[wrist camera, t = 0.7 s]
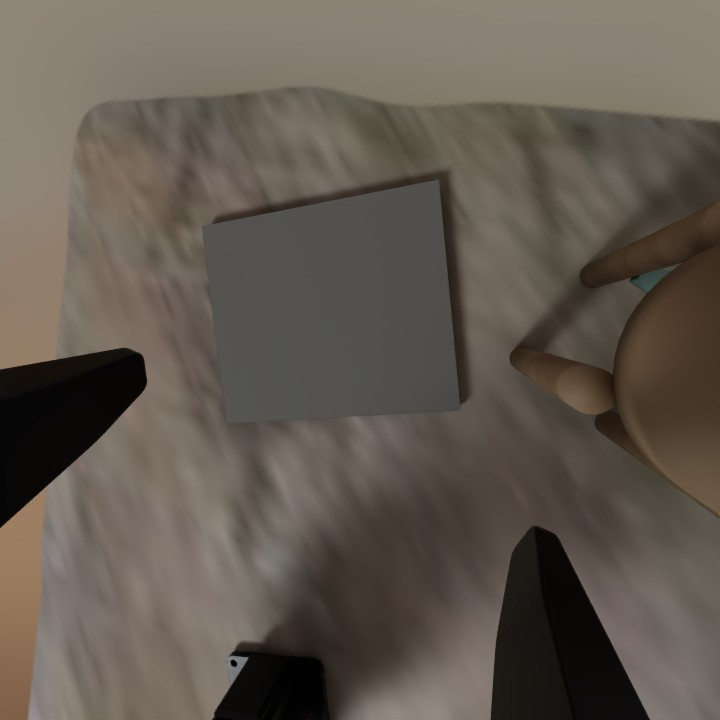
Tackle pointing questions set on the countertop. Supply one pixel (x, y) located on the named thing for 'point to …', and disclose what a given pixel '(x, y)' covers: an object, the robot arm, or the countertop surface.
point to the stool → (657, 358)
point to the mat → (334, 308)
